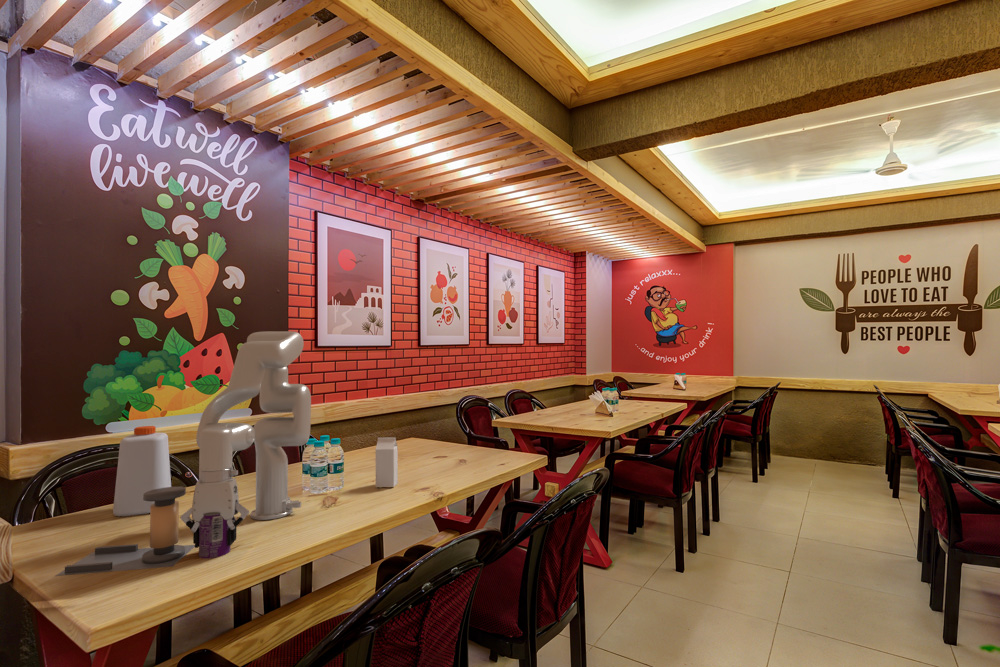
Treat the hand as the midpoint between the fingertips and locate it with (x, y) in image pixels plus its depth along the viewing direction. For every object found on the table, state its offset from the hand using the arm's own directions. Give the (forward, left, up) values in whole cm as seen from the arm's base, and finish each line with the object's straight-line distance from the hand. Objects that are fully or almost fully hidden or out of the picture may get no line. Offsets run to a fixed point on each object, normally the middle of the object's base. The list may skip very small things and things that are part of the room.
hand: (215, 544), depth 128 cm
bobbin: (+12, 0, -2) cm, 12 cm away
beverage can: (0, 0, -4) cm, 4 cm away
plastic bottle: (+40, -49, -4) cm, 63 cm away
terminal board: (+19, 0, -3) cm, 20 cm away
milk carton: (-41, -62, -4) cm, 74 cm away
